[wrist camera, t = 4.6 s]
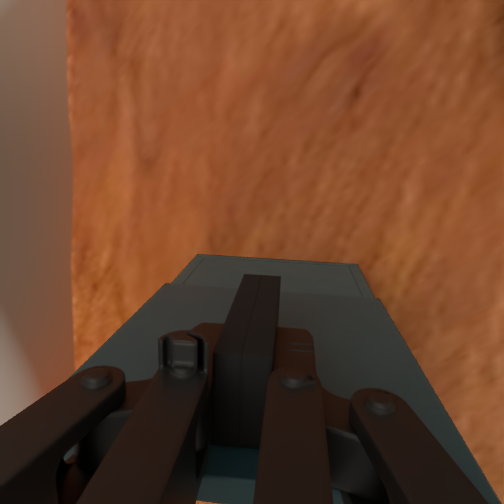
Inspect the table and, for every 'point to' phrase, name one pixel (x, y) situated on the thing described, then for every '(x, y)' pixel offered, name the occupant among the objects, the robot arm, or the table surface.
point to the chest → (277, 274)
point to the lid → (327, 368)
